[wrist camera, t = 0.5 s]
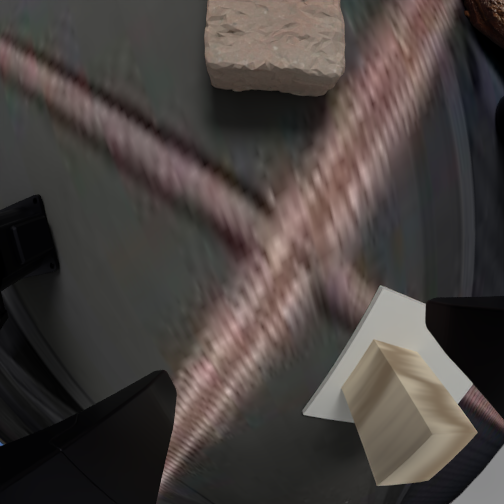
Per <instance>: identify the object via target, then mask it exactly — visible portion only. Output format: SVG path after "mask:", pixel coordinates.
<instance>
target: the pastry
mask: <svg viewBox="0 0 504 504" xmlns="http://www.w3.org/2000/svg"><path fill="white" fill-rule="evenodd" d="M464 5H465V7H466V9H467V11H464V12H465V15H466V16H467V17H468V18H469V19H470V22H471V24H472V26H473V27H475V28H476V29H477V30H478V31H479V32H481V33H482V34H483V35H485V36H486V37H488V38H489V39H490V40H491V41H492V42H494V43H495V44H497V45H498V46H499V47H501V48H502V49H503V50H504V0H464Z"/></svg>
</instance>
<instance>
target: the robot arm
mask: <svg viewBox="0 0 504 504" xmlns="http://www.w3.org/2000/svg"><path fill="white" fill-rule="evenodd" d="M36 199H37V203H36ZM52 263H53V264H54V266H53V265H52ZM58 268H59V263H58V260H57V257H56V253H55V250H54V247H53V243H52V239H51V236H50V232H49V228H48V224H47V220H46V216H45V211H44V207H43V202H42V198H41V196H40V195H33V196H31V197H29V198H26V199H24V200H22V201H19V202H17V203H15V204H13V205H11V206H8V207H6V208H4V209H2V210H0V329H1V328H2V326H3V325H4V323H5V322H6V320H7V319H8V313H7V310H5V306H4V303H3V299H2V294H1V291H3V290H4V289H6V288H7V287H9V286H10V285H12V284H14V283H15V282H17V281H18V280H20V279H22V278H26V277H30V276H35V275H39V274H44V273H49V272H53V271H55V270H57V269H58ZM425 324H426V327H427V329H428V331H429V332H430V333H431V335H432V336H433V337H434V339H435V340H436V341H437V343H438V344H439V345H440V347H441V348H442V350H443V351H444V352H445V353H446V355H447V356H448V357H449V358H450V359H451V360H452V361H453V362H454V363H455V364H456V365H457V367H458V368H459V369H460V370H461V371H462V372H463V373H464V374H465V375H466V376H467V377H468V379H469V380H470V381H471V382H472V383H473V384H474V385H475V386H476V388H477V389H478V390H479V391H480V392H481V393H482V394H483V396H484V397H485V398H486V399H487V400H488V401H489V403H490V404H491V405H492V406H493V407H494V408H495V410H496V411H497V412H498V413H499V414H500V416H501V417H502V418H503V419H504V296H492V297H446V298H433V299H431V300H428V301H427V303H426V311H425ZM176 396H177V393H176V388H175V386H174V384H173V382H172V380H171V378H170V377H169V375H168V373H167V371H165V370H159V371H154V372H152V373H150V374H149V375H147V376H145V377H143V378H142V379H140V380H138V381H136V382H135V383H133V384H131V385H129V386H127V387H126V388H124V389H122V390H120V391H118V392H117V393H115V394H113V395H111V396H109V397H107V398H106V399H104V400H102V401H100V402H98V403H96V404H95V405H93V406H91V407H89V408H87V409H85V410H83V411H81V412H79V414H78V413H77V414H75V415H73V416H71V417H69V418H67V419H65V420H63V421H61V422H59V423H56V424H54V425H52V426H50V427H47V428H45V429H43V430H40V431H38V432H36V433H33V434H31V435H28V436H26V437H23V438H21V439H18V440H16V441H13V442H11V443H8V444H5V445H3V446H0V504H156V501H157V496H158V492H159V487H160V482H161V478H162V473H163V469H164V464H165V460H166V456H167V451H168V447H169V443H170V439H171V434H172V430H173V425H174V416H175V406H176Z"/></svg>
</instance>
